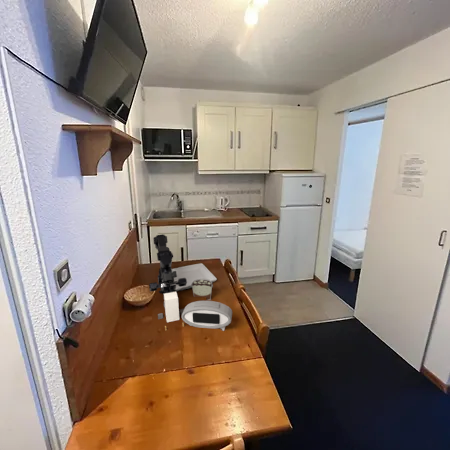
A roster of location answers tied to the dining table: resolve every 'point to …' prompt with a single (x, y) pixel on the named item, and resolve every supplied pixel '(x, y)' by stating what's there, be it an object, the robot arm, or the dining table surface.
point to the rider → (171, 306)
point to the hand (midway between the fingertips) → (170, 301)
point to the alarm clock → (207, 314)
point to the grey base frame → (162, 316)
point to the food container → (202, 288)
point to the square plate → (192, 274)
